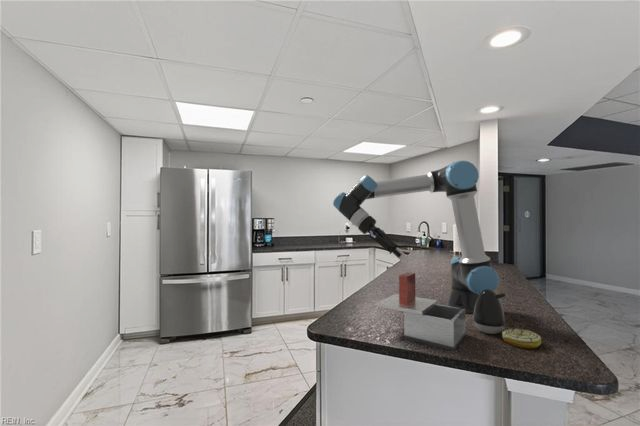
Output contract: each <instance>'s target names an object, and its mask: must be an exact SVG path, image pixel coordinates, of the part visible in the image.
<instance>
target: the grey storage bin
mask: <svg viewBox="0 0 640 426" xmlns="http://www.w3.org/2000/svg"><path fill="white" fill-rule="evenodd" d="M403 314H404V316H403V318H404V320H403V321H404V324H403V325H404V328H403V329H404V331H403V332H404V336H403V337H404V339H406V340H410V341H414V342H418V343H422V344H427V345H429V346H435V347H439V348H443V349H448V350H450V351H455V350H456V349H457V347H458V345H459V344H460V343H461V342H462V340H463V339H464V337H465V336H466V333H467V332H466V331H467V330H466V329H467V328H466V327H467V326H466V325H467V321H466V318H467V317H466V310H465V309H462V308H456V307H450V306H447V305H445V304H444V305H443V304H439V303H438V304H436V305H435V306H434V307H432V308H431V309H430V310H428V311H427V312H426V313H424V314H423V315H419V314H414V313H409V312H404V311H403Z"/></svg>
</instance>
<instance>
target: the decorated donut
mask: <svg viewBox="0 0 640 426" xmlns="http://www.w3.org/2000/svg"><path fill="white" fill-rule="evenodd" d="M501 334H502V339H503V341H504V342H505V343H508V345H511V346H514V347H519V348H521V349H530V350H533V349H535V350H536V349H537V348H539V346H541V344H542V337H541V336H540V335H539V334H537V333H535V332H534V331H532V330H527V329H523V328H508V329H504V330H502V331H501Z"/></svg>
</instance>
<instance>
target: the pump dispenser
mask: <svg viewBox="0 0 640 426" xmlns="http://www.w3.org/2000/svg"><path fill="white" fill-rule="evenodd" d="M504 297H506V293H498V294H496V292H495V290H494V291H492V290H489V289H486V290H483V291H482V292H481V293H480V294H479V296H478V298H477V300H476V303H475V307H474V312H473V313H472V321H473V323H474V325H475V328H476V329H477V330H479V331H480V332H481V333H484V334H488V335H496V334H499V333H502V332H503V329H504V328H505V327H504V326H505V325H506V318H505V313H504V312H505V311H504V309H503V305H502V303H501V301H500V299H502V298H504Z"/></svg>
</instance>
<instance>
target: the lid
mask: <svg viewBox="0 0 640 426" xmlns="http://www.w3.org/2000/svg"><path fill="white" fill-rule="evenodd" d="M398 275H399V274H398ZM398 290H399V291H398V293H394V294H392V295H390V296H388V297H386V298H384V299H382V300H380V301H378V302H376V307H378V308H379V307H380V308H384V309H388V310H390V309H391V310H394V311H400V312H403V313H404V312H409V313H414V314H419V315H423V314H424V313H426V312H427V311H428V310H430V309H431V308H432V307H434V306H435V305H436V304H438V305H439V303H438V299H433V298H425V297H419V296H416V273H415V272H405V273H403V274H400V275H399V276H398Z"/></svg>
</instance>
